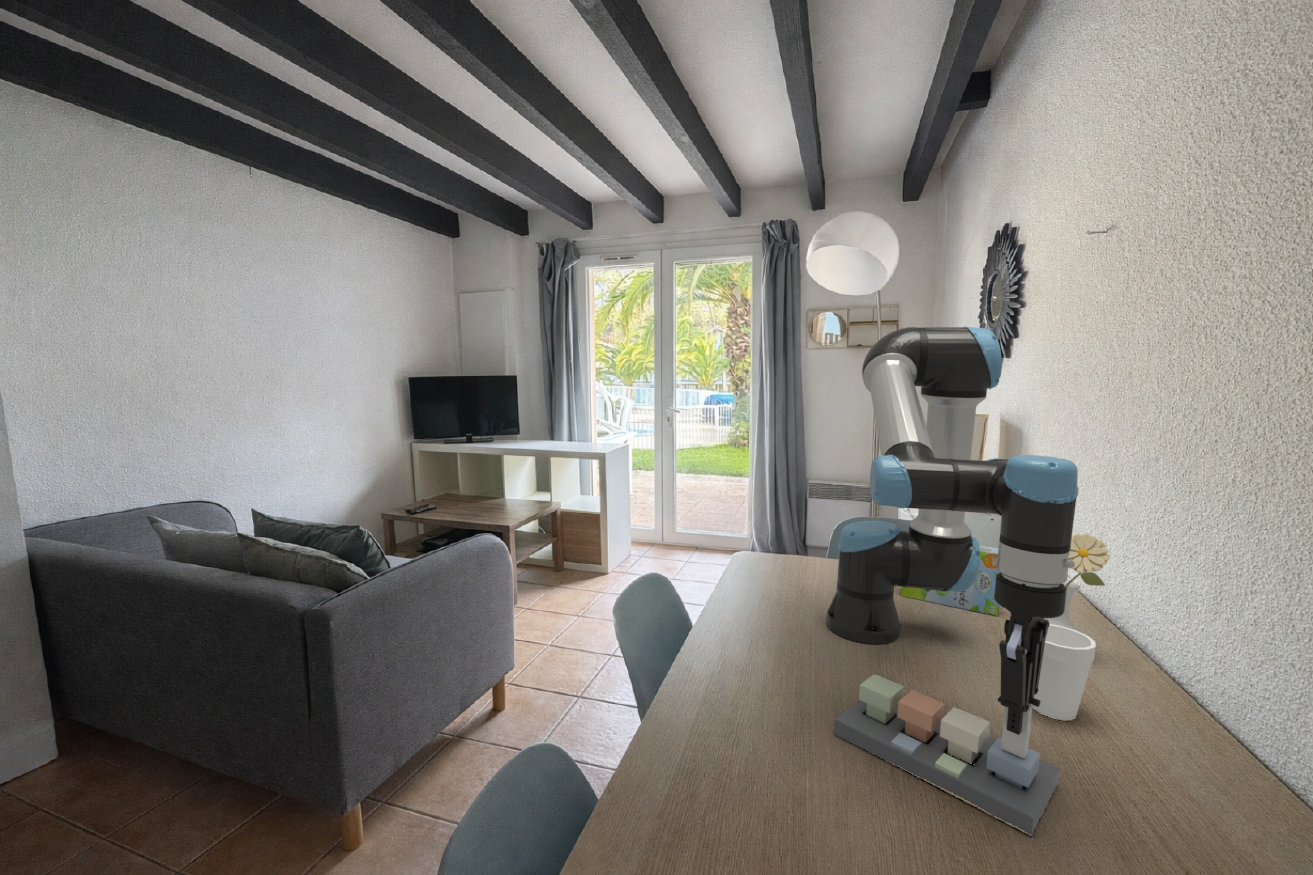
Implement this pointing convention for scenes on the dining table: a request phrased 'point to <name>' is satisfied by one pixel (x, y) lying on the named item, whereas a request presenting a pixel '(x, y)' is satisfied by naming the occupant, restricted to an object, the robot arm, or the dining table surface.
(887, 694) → the key sage
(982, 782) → the keypad
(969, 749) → the key cream
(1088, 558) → the flower in vase
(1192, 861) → the dining table surface
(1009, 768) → the key slate
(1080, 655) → the foam cup
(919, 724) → the key terracotta
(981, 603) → the snack box
